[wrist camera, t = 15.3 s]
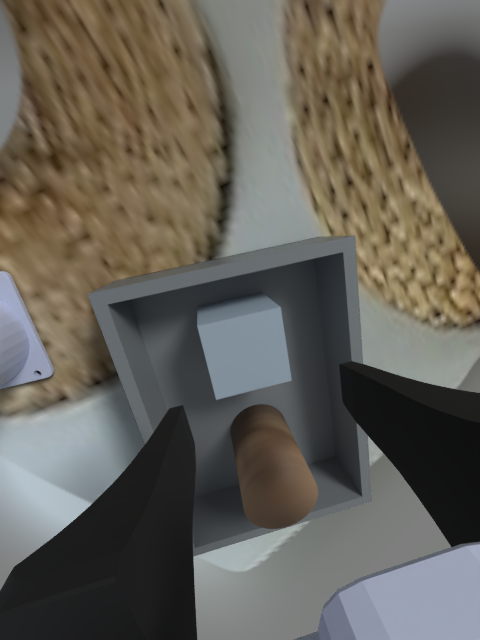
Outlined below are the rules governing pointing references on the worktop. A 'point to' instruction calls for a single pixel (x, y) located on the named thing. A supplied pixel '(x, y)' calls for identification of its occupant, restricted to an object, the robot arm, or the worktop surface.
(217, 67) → the worktop surface
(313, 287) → the tote
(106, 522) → the robot arm
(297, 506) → the brown potato
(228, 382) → the slate cube
